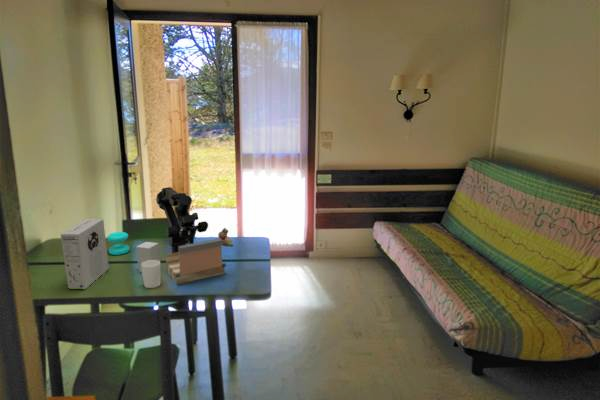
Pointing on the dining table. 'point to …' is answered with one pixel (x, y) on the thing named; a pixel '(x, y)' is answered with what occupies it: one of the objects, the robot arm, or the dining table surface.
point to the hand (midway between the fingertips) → (192, 245)
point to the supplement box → (147, 253)
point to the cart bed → (174, 272)
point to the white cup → (151, 273)
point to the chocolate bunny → (225, 238)
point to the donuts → (118, 248)
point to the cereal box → (85, 253)
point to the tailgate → (200, 256)
